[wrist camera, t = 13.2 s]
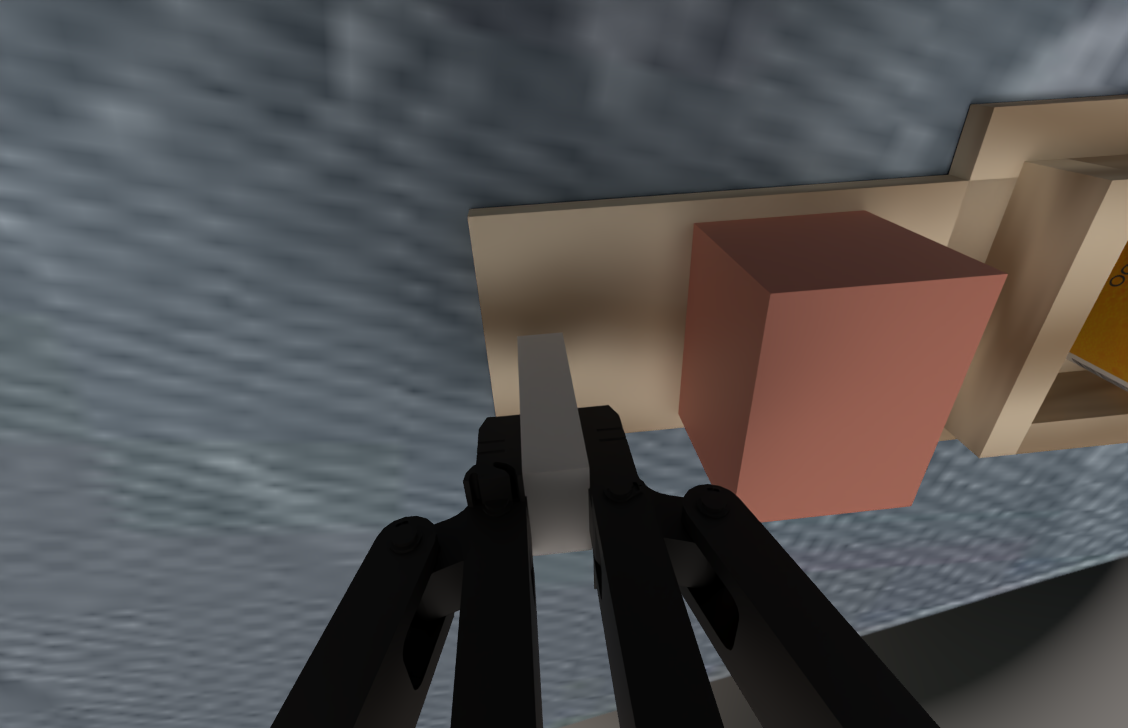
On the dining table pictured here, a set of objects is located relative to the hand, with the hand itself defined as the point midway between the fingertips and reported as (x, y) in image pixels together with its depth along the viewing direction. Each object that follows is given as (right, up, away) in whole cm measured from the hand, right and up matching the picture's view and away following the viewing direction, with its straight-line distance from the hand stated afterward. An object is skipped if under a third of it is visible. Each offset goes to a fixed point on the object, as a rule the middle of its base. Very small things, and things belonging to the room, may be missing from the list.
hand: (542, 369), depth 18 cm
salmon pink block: (+8, +2, +2) cm, 9 cm away
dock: (+13, +3, +3) cm, 14 cm away
